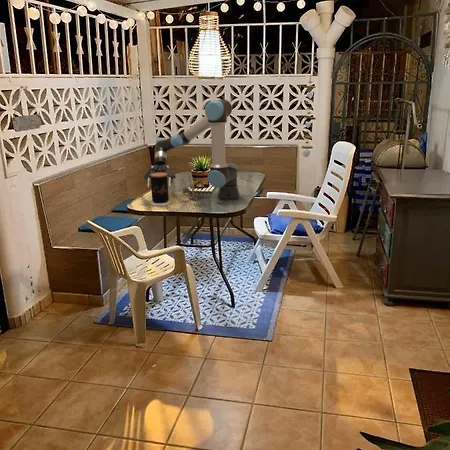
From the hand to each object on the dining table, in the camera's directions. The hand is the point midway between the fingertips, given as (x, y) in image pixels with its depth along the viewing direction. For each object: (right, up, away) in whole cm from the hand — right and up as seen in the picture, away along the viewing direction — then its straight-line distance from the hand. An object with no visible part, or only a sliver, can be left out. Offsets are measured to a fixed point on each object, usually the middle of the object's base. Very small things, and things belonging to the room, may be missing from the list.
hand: (159, 187), depth 304 cm
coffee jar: (0, -9, +5) cm, 11 cm away
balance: (+21, -7, +15) cm, 27 cm away
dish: (0, -10, +6) cm, 12 cm away
